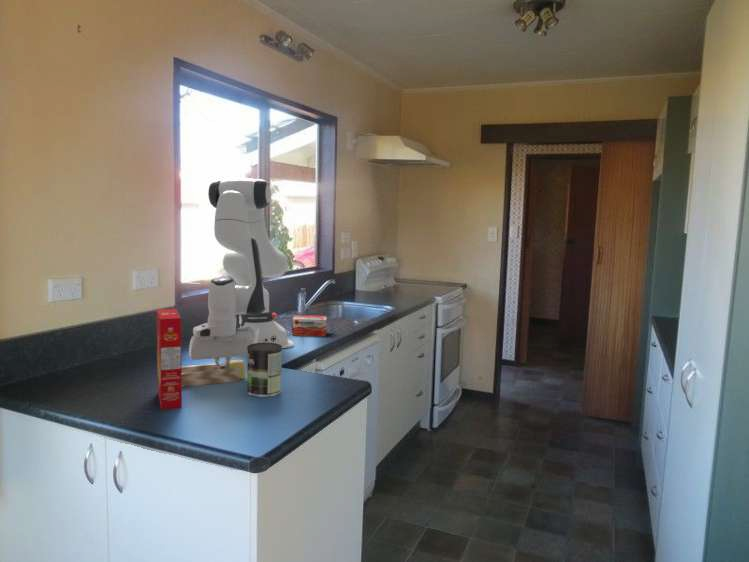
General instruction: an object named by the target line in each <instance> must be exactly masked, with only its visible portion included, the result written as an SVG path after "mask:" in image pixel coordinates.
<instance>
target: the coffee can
mask: <svg viewBox="0 0 749 562" xmlns="http://www.w3.org/2000/svg"><path fill="white" fill-rule="evenodd" d="M282 349H283V348H282V346H281V345H279V344H276V343H254V344H250V345H248V346H247V350H248V356H247V361H246V362H247V368H246V369H247V373H246V375H247V380H246V381H247V382H246V385H247V386H246V388H247V389H246V393H247V394H248V395H249V396H252V397H257V398H270V397H275V396H278V395H280V394H281V392H282V354H283V353H282Z"/></svg>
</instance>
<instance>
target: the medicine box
mask: <svg viewBox="0 0 749 562" xmlns="http://www.w3.org/2000/svg"><path fill="white" fill-rule="evenodd" d="M327 332H328V315H304V314H303V315H301V314H300V315H298V314H297V315H296V314H295V315H294V316H293V318H292V322H291V336H293V337H294V336H295V337H296V336H298V337H326V335H327Z"/></svg>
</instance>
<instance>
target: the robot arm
mask: <svg viewBox="0 0 749 562" xmlns="http://www.w3.org/2000/svg"><path fill="white" fill-rule="evenodd" d="M207 193H208V200H209V203H210V205H211V206H212V207H213V208H215V215H214V228H213V231H214V236H215V237H214V238H215V239H216V242H218V244H219V245H221V246H222V247H223V248H225V249H227V252H226V253H225V254H224V256H223V258H222V266H223V269H224V270H225V272H226V273H227V274H228V275H229V277H227V276H218V277H215V278H212V279H211V280H210V282H209V287H208V293H207V307H208V317H207V322H205V323H202V324H200V325H197V326H194V327H193V328H192V334H193V335H192V336H191V338H190V341H189V346H188V347H189V349H188V356H189V358H190V359H192V360H193V361H198V360H210V359H213V361H214V364H215V363H216V364H217V370H219V369H227V365H228V364H229V362H230V360H231V358H233V357H234V358H235V357H245V356H247V357H248V350H247V346H248V345H250V344H254V343H276V344H279V345H281V346H282V349H287V348H292V347H294V342H293V341H292V340H290V339H289V338H288V332H287V330H286V329H285V328H284V327H283V326H282V325H280V324H279V323H278V322H276V321H275V320H274V319H277V318H278V314H277V313H276V312H272V311H270V293H269V291H268V290H267V289H266V288H265V284H264V278H267V279H268V278H269V279H271V278H272V279H273V278H279V277H282V276H283V275H284V274H285V273H286V271H287V270H288V265H289V263H288V262H289V261H288V258H287V257H286V255H285V253H284V252H282V251H281V250H279V249H278V248H277V247H276V246H275V245H274V243H272V241H271V240H270V238H269V236H268V232H267V231H268V230H267V226H266V221H265V219H266V218H265V211H264V209H265V208H266V207H268V206H269V205H270V202H271V199H272V190H271V187H270V184H269V183H268V182H267V180H264V179H260V178H256V179H255V178H243V177H241V178H231V179H230V178H229V179H216V180H213V181H212V182H210V184H209V187H208V192H207ZM236 315H239V319H238V320H239V327H237V316H236ZM221 358H222V359H223V358H224V359H225V360H224V362H223V363H224V364H222V365H219V363H220V362H219V361H220V359H221Z"/></svg>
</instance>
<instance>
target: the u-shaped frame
mask: <svg viewBox="0 0 749 562" xmlns="http://www.w3.org/2000/svg"><path fill="white" fill-rule="evenodd" d="M218 363H219V365H222V364H224V363H225V362H218ZM181 371H182V388H184V387H194V386H196V387H197V386H205V385H212V384H213V385H214V384H222V383H233V382H241V379H240V368H230V369H219V370H217V364H216V363H215V362H214V363H206V364H205V363H204V364H196V365H181Z"/></svg>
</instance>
